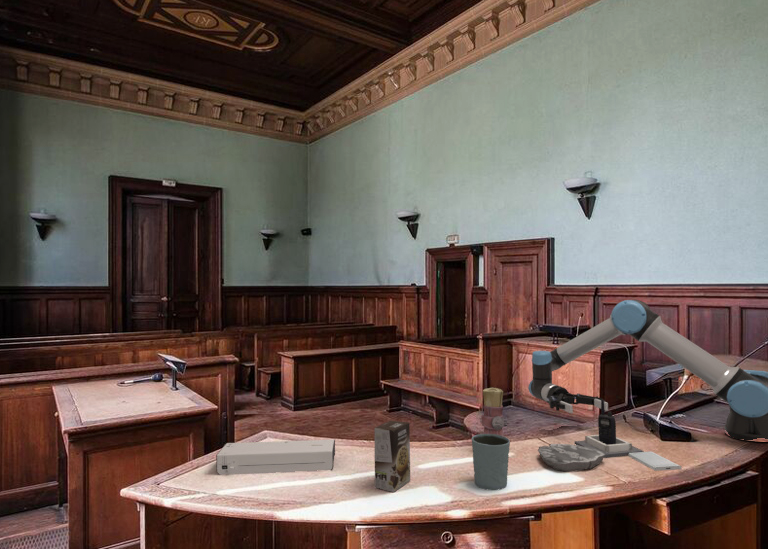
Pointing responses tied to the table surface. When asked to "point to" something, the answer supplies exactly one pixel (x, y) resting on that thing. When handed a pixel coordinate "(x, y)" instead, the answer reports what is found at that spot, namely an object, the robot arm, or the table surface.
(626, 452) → the charging cradle
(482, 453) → the grey cup
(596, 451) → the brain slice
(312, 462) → the laminator
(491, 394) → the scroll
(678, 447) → the table surface
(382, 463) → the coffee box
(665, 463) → the hard drive
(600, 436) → the two-way radio
